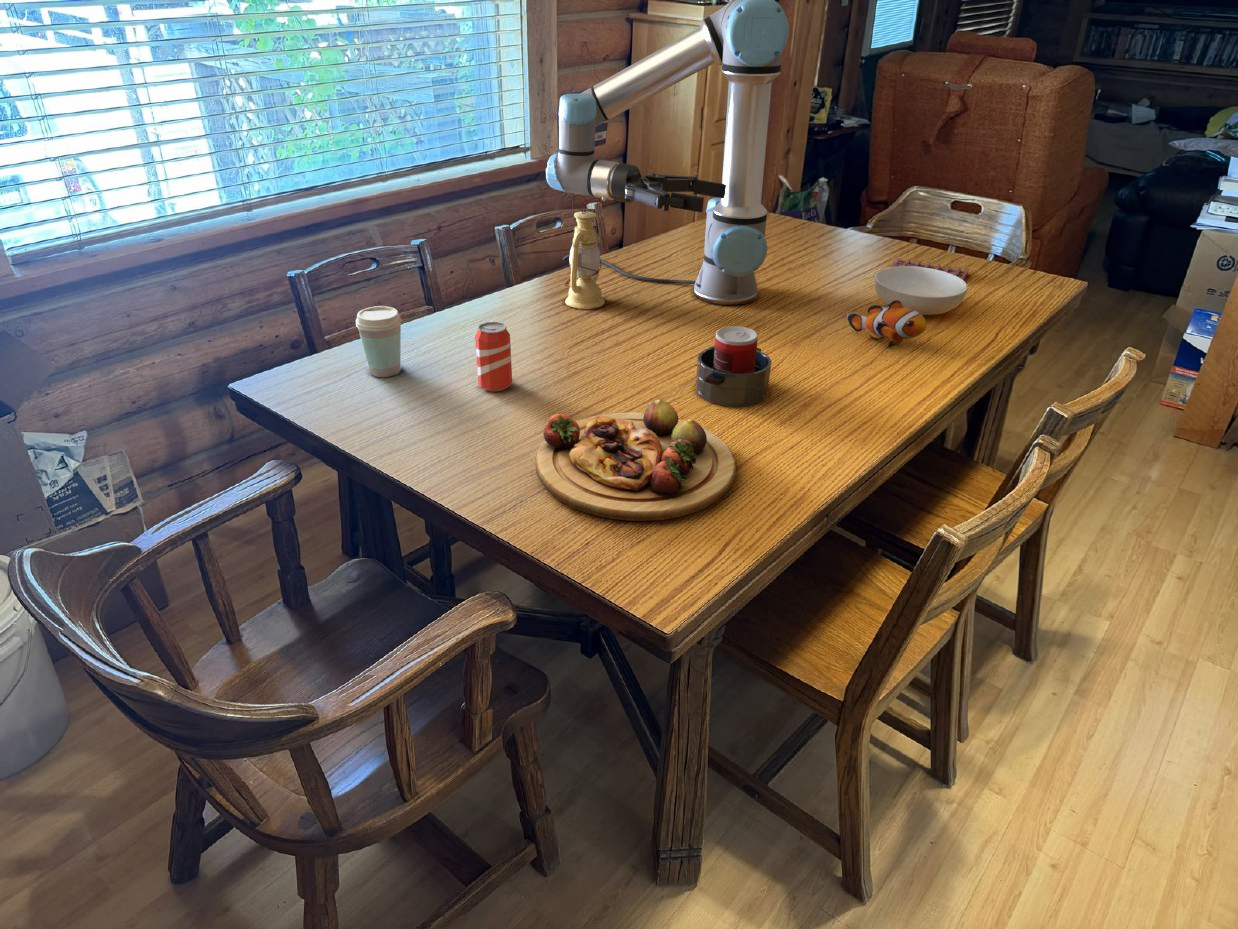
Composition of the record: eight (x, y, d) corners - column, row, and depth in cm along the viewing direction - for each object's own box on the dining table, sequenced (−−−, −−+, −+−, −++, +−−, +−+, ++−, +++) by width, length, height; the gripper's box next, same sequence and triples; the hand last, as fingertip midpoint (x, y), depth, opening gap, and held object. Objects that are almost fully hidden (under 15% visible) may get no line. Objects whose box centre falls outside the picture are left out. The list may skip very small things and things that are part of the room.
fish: (911, 358, 179) (915, 310, 175) (833, 342, 191) (835, 297, 187) (934, 345, 185) (939, 299, 181) (858, 331, 197) (860, 287, 193)
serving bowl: (863, 316, 201) (868, 287, 198) (876, 288, 218) (881, 261, 215) (958, 330, 195) (965, 301, 191) (964, 300, 212) (970, 273, 208)
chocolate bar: (894, 263, 236) (896, 256, 235) (967, 275, 228) (969, 268, 227) (887, 270, 230) (889, 263, 229) (962, 283, 223) (964, 275, 222)
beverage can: (490, 376, 170) (487, 318, 164) (518, 383, 167) (515, 324, 161) (472, 388, 165) (467, 329, 159) (500, 396, 163) (497, 335, 157)
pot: (683, 394, 165) (685, 363, 161) (716, 369, 175) (718, 339, 171) (748, 413, 158) (752, 381, 155) (779, 386, 168) (783, 355, 165)
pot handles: (704, 382, 158) (705, 377, 158) (747, 349, 171) (748, 345, 171) (718, 386, 157) (719, 381, 156) (760, 353, 170) (761, 348, 169)
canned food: (755, 382, 168) (761, 328, 163) (747, 399, 162) (753, 344, 156) (717, 376, 171) (721, 323, 165) (707, 393, 164) (711, 338, 158)
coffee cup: (416, 367, 173) (410, 309, 167) (389, 383, 166) (381, 324, 160) (381, 358, 176) (373, 302, 170) (353, 375, 169) (344, 316, 163)
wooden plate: (494, 484, 136) (491, 438, 132) (604, 406, 160) (604, 365, 156) (675, 551, 122) (678, 501, 118) (766, 455, 146) (771, 410, 141)
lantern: (579, 290, 213) (578, 163, 197) (614, 298, 209) (616, 168, 193) (552, 305, 203) (549, 173, 188) (589, 314, 200) (589, 178, 184)
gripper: (640, 188, 193) (732, 203, 186) (589, 212, 174) (689, 231, 166) (642, 152, 189) (736, 167, 182) (590, 174, 170) (693, 191, 163)
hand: (714, 197), depth 174 cm, fingers open, 12 cm apart
